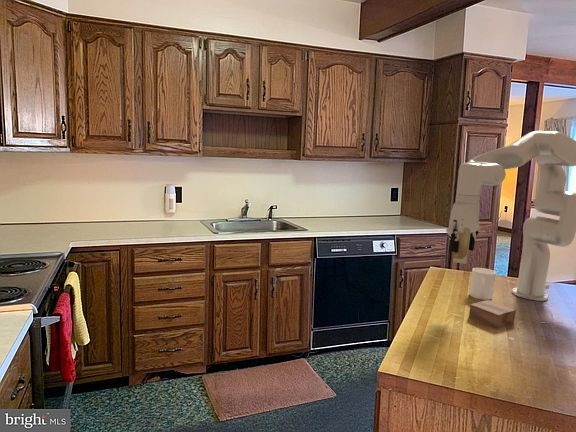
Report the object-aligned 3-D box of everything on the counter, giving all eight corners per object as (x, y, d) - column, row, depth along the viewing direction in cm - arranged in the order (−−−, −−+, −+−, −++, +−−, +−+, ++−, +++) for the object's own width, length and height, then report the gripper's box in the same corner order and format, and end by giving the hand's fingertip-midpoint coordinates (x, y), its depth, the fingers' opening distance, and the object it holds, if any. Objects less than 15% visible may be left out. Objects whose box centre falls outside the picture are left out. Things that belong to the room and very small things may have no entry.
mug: (492, 305, 161) (496, 278, 160) (468, 300, 165) (471, 274, 163) (492, 295, 172) (495, 270, 170) (469, 291, 176) (472, 266, 174)
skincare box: (454, 258, 156) (458, 224, 154) (467, 260, 154) (471, 225, 152) (452, 262, 150) (456, 227, 148) (466, 264, 148) (470, 229, 146)
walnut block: (486, 313, 154) (488, 299, 153) (513, 324, 146) (515, 309, 145) (468, 318, 148) (470, 304, 148) (496, 329, 140) (498, 315, 139)
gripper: (474, 197, 156) (468, 246, 159) (440, 199, 147) (435, 250, 150) (493, 200, 149) (487, 251, 153) (459, 202, 141) (453, 255, 144)
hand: (461, 250), depth 151 cm, fingers closed on skincare box, 7 cm apart
